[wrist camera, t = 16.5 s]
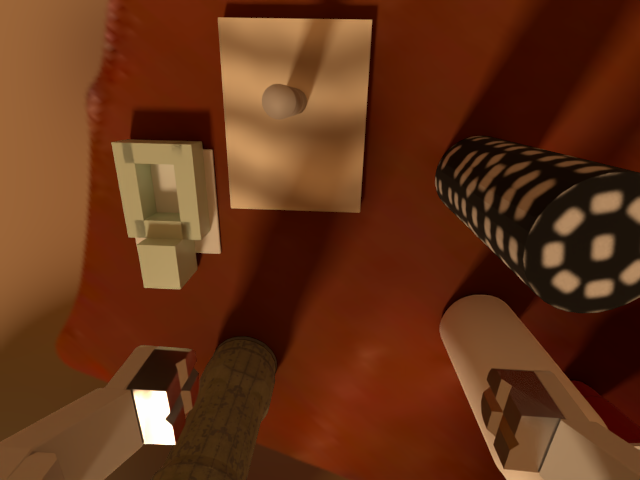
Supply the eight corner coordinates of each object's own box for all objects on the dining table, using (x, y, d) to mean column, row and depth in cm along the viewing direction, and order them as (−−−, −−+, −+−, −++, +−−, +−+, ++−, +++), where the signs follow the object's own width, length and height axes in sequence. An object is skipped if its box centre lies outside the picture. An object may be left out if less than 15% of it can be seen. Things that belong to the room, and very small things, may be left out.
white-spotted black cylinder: (431, 144, 38) (523, 187, 19) (515, 128, 37) (698, 157, 18) (438, 219, 40) (522, 321, 22) (515, 206, 39) (674, 302, 21)
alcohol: (485, 360, 47) (702, 747, 19) (424, 336, 46) (557, 703, 18) (525, 307, 44) (856, 674, 16) (461, 279, 43) (690, 616, 15)
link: (127, 139, 39) (98, 144, 34) (202, 141, 38) (183, 147, 34) (148, 267, 44) (126, 286, 39) (213, 269, 44) (198, 290, 39)
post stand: (222, 20, 34) (169, -16, 24) (370, 22, 34) (385, -13, 23) (234, 204, 41) (197, 241, 30) (359, 208, 40) (366, 247, 30)
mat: (121, 146, 39) (119, 147, 39) (212, 149, 39) (211, 150, 39) (138, 249, 44) (137, 250, 43) (221, 252, 43) (220, 253, 43)
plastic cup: (516, 377, 47) (571, 462, 36) (604, 354, 46) (691, 437, 34) (531, 435, 51) (586, 529, 40) (614, 416, 49) (695, 510, 38)
